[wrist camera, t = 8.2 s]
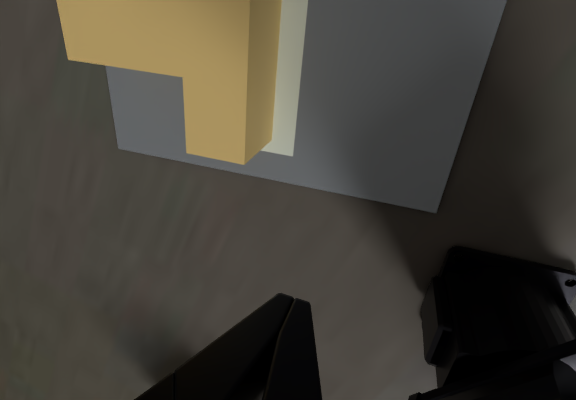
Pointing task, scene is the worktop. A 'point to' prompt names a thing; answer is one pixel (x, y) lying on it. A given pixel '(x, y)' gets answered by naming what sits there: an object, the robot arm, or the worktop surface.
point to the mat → (344, 98)
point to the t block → (192, 61)
